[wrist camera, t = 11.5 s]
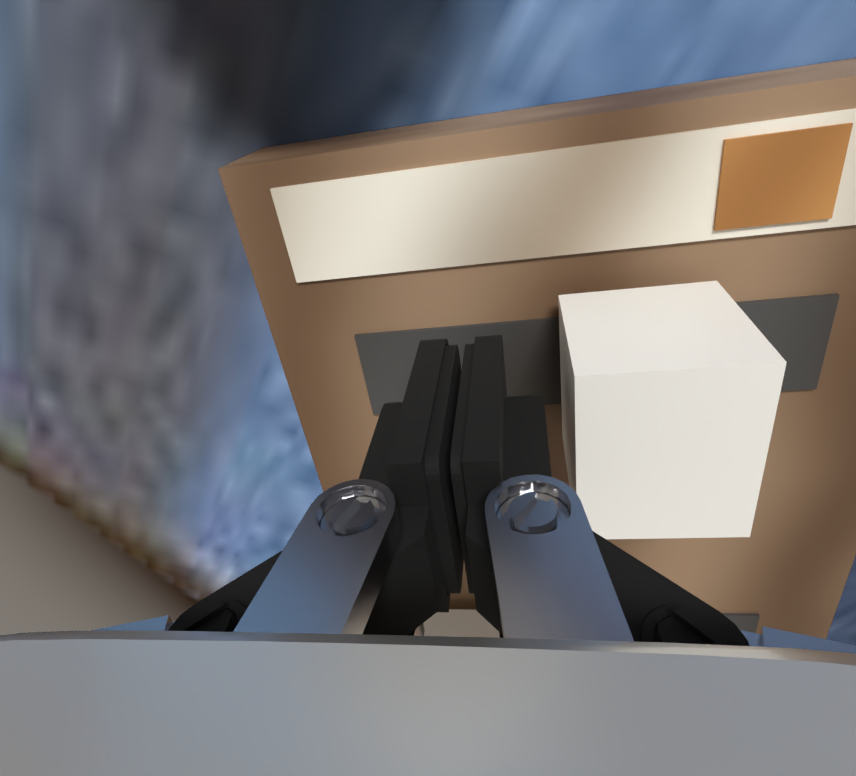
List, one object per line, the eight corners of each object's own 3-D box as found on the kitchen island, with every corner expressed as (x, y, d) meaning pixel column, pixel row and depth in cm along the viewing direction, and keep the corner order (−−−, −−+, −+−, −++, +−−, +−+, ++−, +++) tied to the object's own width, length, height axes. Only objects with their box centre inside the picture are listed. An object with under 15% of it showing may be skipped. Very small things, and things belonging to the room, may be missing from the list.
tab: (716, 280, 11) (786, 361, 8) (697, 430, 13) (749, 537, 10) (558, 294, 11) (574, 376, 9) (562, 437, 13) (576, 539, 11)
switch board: (933, 46, 11) (1045, 49, 9) (765, 658, 21) (796, 733, 19) (263, 147, 13) (214, 170, 11) (405, 651, 24) (394, 716, 21)
